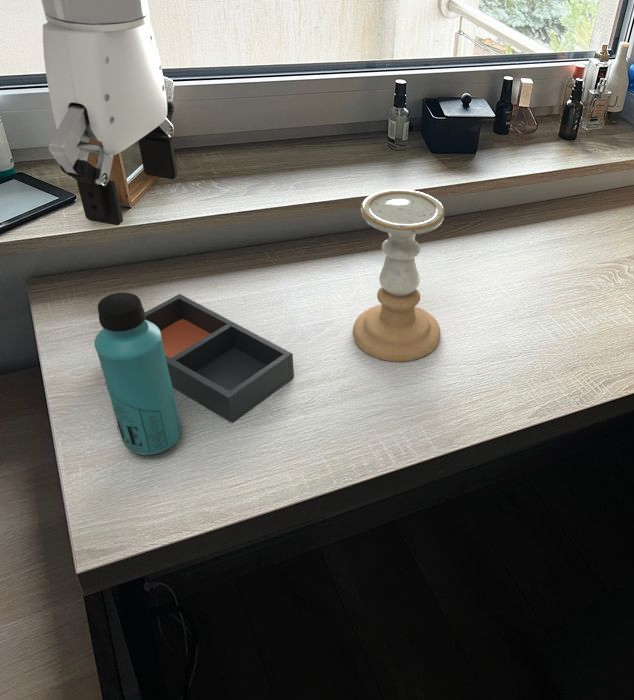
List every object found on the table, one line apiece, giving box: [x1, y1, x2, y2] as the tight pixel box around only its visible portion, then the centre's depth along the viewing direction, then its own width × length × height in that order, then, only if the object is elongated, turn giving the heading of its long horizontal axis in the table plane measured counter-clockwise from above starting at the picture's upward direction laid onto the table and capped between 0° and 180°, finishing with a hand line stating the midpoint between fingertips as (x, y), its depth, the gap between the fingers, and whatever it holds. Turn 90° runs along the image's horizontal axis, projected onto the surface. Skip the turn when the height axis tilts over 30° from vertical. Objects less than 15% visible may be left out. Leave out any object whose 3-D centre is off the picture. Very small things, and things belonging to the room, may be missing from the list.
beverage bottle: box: [93, 291, 183, 456], centre depth 76 cm, size 6×7×20 cm
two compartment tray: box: [145, 293, 295, 424], centre depth 92 cm, size 11×20×4 cm, turn 58°
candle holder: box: [352, 188, 445, 363], centre depth 96 cm, size 12×12×20 cm
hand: (134, 197), depth 67 cm, fingers open, 9 cm apart
